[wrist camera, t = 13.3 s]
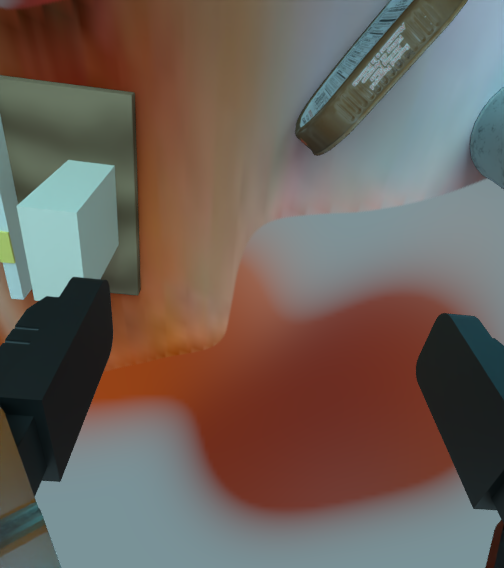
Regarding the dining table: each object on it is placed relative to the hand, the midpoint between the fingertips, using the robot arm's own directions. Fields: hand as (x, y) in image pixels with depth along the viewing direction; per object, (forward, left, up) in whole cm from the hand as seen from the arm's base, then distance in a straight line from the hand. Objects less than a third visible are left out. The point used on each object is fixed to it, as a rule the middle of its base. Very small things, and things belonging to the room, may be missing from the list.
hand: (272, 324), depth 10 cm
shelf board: (+11, -16, -30) cm, 36 cm away
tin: (-4, +8, -30) cm, 32 cm away
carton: (+11, -14, -29) cm, 34 cm away
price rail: (+11, -21, -29) cm, 38 cm away
